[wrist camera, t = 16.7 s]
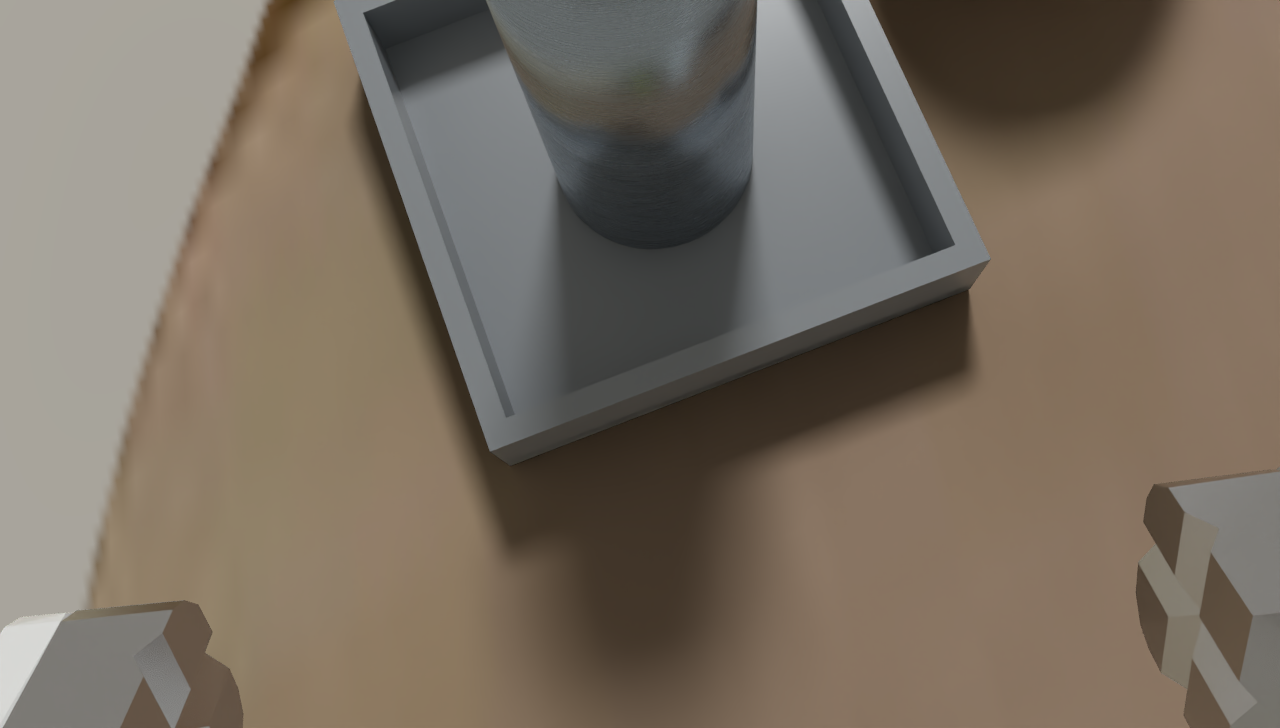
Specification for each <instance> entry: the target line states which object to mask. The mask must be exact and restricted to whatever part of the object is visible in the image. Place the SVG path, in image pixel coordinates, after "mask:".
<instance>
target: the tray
mask: <svg viewBox="0 0 1280 728" xmlns="http://www.w3.org/2000/svg"><path fill="white" fill-rule="evenodd" d="M334 4H335V7H336V10H337V13H338V15H339V18H340V21H341V24H342V27H343V30H344V33H345V36H346V39H347V41H348V44H349V47H350V50H351V53H352V56H353V59H354V62H355V64H356V67H357V70H358V73H359V76H360V79H361V82H362V85H363V88H364V90H365V93H366V96H367V99H368V102H369V105H370V108H371V111H372V113H373V116H374V119H375V122H376V125H377V128H378V131H379V134H380V136H381V139H382V142H383V145H384V148H385V151H386V154H387V157H388V160H389V162H390V165H391V168H392V171H393V174H394V177H395V180H396V183H397V185H398V188H399V191H400V194H401V197H402V200H403V203H404V206H405V208H406V211H407V214H408V217H409V220H410V223H411V226H412V229H413V232H414V234H415V237H416V240H417V243H418V246H419V249H420V252H421V255H422V257H423V260H424V263H425V266H426V269H427V272H428V275H429V278H430V281H431V283H432V286H433V289H434V292H435V295H436V298H437V301H438V304H439V306H440V309H441V312H442V315H443V318H444V321H445V324H446V327H447V329H448V332H449V335H450V338H451V341H452V344H453V347H454V350H455V353H456V355H457V358H458V361H459V364H460V367H461V370H462V373H463V376H464V378H465V381H466V384H467V387H468V390H469V393H470V396H471V399H472V401H473V404H474V407H475V410H476V413H477V416H478V419H479V422H480V425H481V427H482V430H483V433H484V436H485V439H486V442H487V445H488V448H489V450H490V452H491V453H493V454H494V455H495V456H497V457H498V458H500V459H501V460H503V461H504V462H505V463H507V464H508V465H510V466H511V465H514V464H517V463H519V462H522V461H524V460H527V459H530V458H532V457H535V456H537V455H540V454H543V453H545V452H548V451H550V450H553V449H556V448H558V447H561V446H563V445H566V444H569V443H571V442H574V441H576V440H579V439H582V438H584V437H587V436H589V435H592V434H595V433H597V432H600V431H602V430H605V429H608V428H610V427H613V426H615V425H618V424H621V423H623V422H626V421H628V420H631V419H634V418H636V417H639V416H641V415H644V414H647V413H649V412H652V411H654V410H657V409H660V408H662V407H665V406H667V405H670V404H673V403H675V402H678V401H680V400H683V399H686V398H688V397H691V396H693V395H696V394H699V393H701V392H704V391H706V390H709V389H712V388H714V387H717V386H719V385H722V384H724V383H727V382H730V381H732V380H735V379H737V378H740V377H743V376H745V375H748V374H750V373H753V372H756V371H758V370H761V369H763V368H766V367H769V366H771V365H774V364H776V363H779V362H782V361H784V360H787V359H789V358H792V357H795V356H797V355H800V354H802V353H805V352H808V351H810V350H813V349H815V348H818V347H821V346H823V345H826V344H828V343H831V342H834V341H836V340H839V339H841V338H844V337H847V336H849V335H852V334H854V333H857V332H860V331H862V330H865V329H867V328H870V327H873V326H875V325H878V324H880V323H883V322H886V321H888V320H891V319H893V318H896V317H899V316H901V315H904V314H906V313H909V312H912V311H914V310H917V309H919V308H922V307H925V306H927V305H930V304H932V303H935V302H938V301H940V300H943V299H945V298H948V297H951V296H953V295H956V294H958V293H961V292H964V291H966V290H969V289H970V288H971V286H972V285H973V283H974V282H975V281H976V279H977V278H978V276H979V275H980V274H981V272H982V271H983V269H984V268H985V267H986V265H987V264H988V262H989V261H990V260H991V258H990V256H989V254H988V252H987V250H986V248H985V245H984V243H983V241H982V239H981V237H980V235H979V233H978V231H977V228H976V226H975V224H974V222H973V220H972V218H971V216H970V214H969V211H968V209H967V207H966V205H965V203H964V201H963V199H962V197H961V195H960V192H959V190H958V188H957V186H956V184H955V182H954V180H953V178H952V175H951V173H950V171H949V169H948V167H947V165H946V163H945V161H944V158H943V156H942V154H941V152H940V150H939V148H938V146H937V144H936V141H935V139H934V137H933V135H932V133H931V131H930V129H929V127H928V125H927V122H926V120H925V118H924V116H923V114H922V112H921V110H920V108H919V105H918V103H917V101H916V99H915V97H914V95H913V93H912V91H911V88H910V86H909V84H908V82H907V80H906V78H905V76H904V74H903V72H902V69H901V67H900V65H899V63H898V61H897V59H896V57H895V55H894V52H893V50H892V48H891V46H890V44H889V42H888V40H887V38H886V35H885V33H884V31H883V29H882V27H881V25H880V23H879V21H878V18H877V16H876V14H875V12H874V10H873V8H872V6H871V4H870V2H869V0H757V30H756V64H755V98H754V132H753V159H752V169H751V173H750V177H749V181H748V184H747V186H746V189H745V192H744V193H743V195H742V197H741V199H740V201H739V202H738V204H737V205H736V207H735V208H734V209H733V211H732V212H731V213H730V214H729V215H728V216H727V217H726V218H725V219H724V221H723V222H721V223H720V224H719V225H718V226H716V227H715V228H714V229H713V230H711V231H710V232H708V233H706V234H705V235H703V236H702V237H700V238H697V239H695V240H693V241H691V242H688V243H685V244H682V245H679V246H675V247H669V248H663V249H642V248H634V247H629V246H625V245H622V244H619V243H616V242H613V241H611V240H609V239H607V238H605V237H603V236H601V235H599V234H598V233H596V232H595V231H594V230H592V229H591V228H590V227H588V226H587V225H586V224H585V223H584V222H583V221H582V220H581V219H580V218H579V217H578V216H577V214H576V213H575V212H574V211H573V209H572V208H571V206H570V204H569V203H568V201H567V199H566V197H565V195H564V193H563V191H562V188H561V186H560V183H559V181H558V178H557V176H556V173H555V171H554V168H553V166H552V163H551V161H550V158H549V156H548V153H547V151H546V148H545V146H544V143H543V141H542V138H541V136H540V134H539V131H538V129H537V126H536V124H535V121H534V119H533V116H532V114H531V111H530V109H529V106H528V104H527V101H526V99H525V96H524V94H523V91H522V89H521V86H520V84H519V81H518V79H517V76H516V74H515V71H514V69H513V67H512V64H511V62H510V59H509V57H508V54H507V52H506V49H505V47H504V44H503V42H502V39H501V37H500V34H499V32H498V29H497V27H496V24H495V22H494V19H493V17H492V14H491V12H490V9H489V7H488V4H487V2H486V0H335V1H334Z"/></svg>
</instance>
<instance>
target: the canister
mask: <svg viewBox="0 0 1280 728" xmlns="http://www.w3.org/2000/svg"><path fill="white" fill-rule="evenodd" d="M486 2H487V4H488V7H489V9H490V12H491V14H492V17H493V19H494V22H495V24H496V27H497V29H498V32H499V34H500V37H501V39H502V42H503V44H504V47H505V49H506V52H507V54H508V57H509V59H510V62H511V64H512V67H513V69H514V71H515V74H516V76H517V79H518V81H519V84H520V86H521V89H522V91H523V94H524V96H525V99H526V101H527V104H528V106H529V109H530V111H531V114H532V116H533V119H534V121H535V124H536V126H537V129H538V131H539V134H540V136H541V138H542V141H543V143H544V146H545V148H546V151H547V153H548V156H549V158H550V161H551V163H552V166H553V168H554V171H555V173H556V176H557V178H558V181H559V183H560V186H561V188H562V191H563V193H564V195H565V197H566V199H567V201H568V203H569V204H570V206H571V208H572V209H573V211H574V212H575V213H576V214H577V216H578V217H579V218H580V219H581V220H582V221H583V222H584V223H585V224H586V225H587V226H588V227H590V228H591V229H592V230H594V231H595V232H596V233H598V234H599V235H601V236H603V237H605V238H607V239H609V240H611V241H613V242H616V243H619V244H622V245H625V246H629V247H634V248H642V249H663V248H669V247H675V246H679V245H682V244H685V243H688V242H691V241H693V240H695V239H697V238H700V237H702V236H703V235H705V234H706V233H708V232H710V231H711V230H713V229H714V228H715V227H716V226H718V225H719V224H720V223H721V222H723V221H724V219H725V218H726V217H727V216H728V215H729V214H730V213H731V212H732V211H733V209H734V208H735V207H736V205H737V204H738V202H739V201H740V199H741V197H742V195H743V193H744V192H745V189H746V186H747V184H748V181H749V177H750V173H751V169H752V159H753V132H754V98H755V64H756V30H757V0H486Z"/></svg>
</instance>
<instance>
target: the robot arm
mask: <svg viewBox="0 0 1280 728" xmlns="http://www.w3.org/2000/svg"><path fill="white" fill-rule="evenodd" d="M1143 523H1144V524H1145V526H1146V528H1147V529H1148V531H1149V533H1150V534H1151V536H1152V538H1153V540H1154V541H1155V543H1156V544H1155V545H1154V546H1153V547H1152V548H1151V549H1150V551H1149V552H1148V553H1147V554H1146V555H1145V556H1144V557H1143V558H1142V559H1141V560H1140V561H1139V562H1138V571H1137V583H1136V598H1137V605H1138V612H1139V619H1140V625H1141V628H1142V631H1143V634H1144V637H1145V640H1146V642H1147V645H1148V648H1149V650H1150V652H1151V654H1152V656H1153V658H1154V660H1155V662H1156V664H1157V666H1158V668H1159V670H1160V672H1161V673H1162V674H1164V675H1165V676H1167V677H1169V678H1170V679H1172V680H1173V681H1175V682H1177V683H1178V684H1180V685H1181V686H1183V687H1185V688H1186V689H1187V695H1186V702H1185V708H1184V717H1185V719H1186V721H1187V723H1188V725H1189V727H1190V728H1280V467H1279V468H1277V469H1276V470H1263V471H1255V472H1247V473H1239V474H1231V475H1223V476H1215V477H1207V478H1200V479H1192V480H1184V481H1176V482H1168V483H1160V484H1154V485H1153V487H1152V489H1151V491H1150V493H1149V495H1148V496H1147V499H1146V506H1145V513H1144V520H1143ZM211 635H212V630H211V628H210V626H209V624H208V622H207V620H206V618H205V616H204V614H203V612H202V611H201V609H200V607H199V605H198V604H195V603H192V602H188V601H185V600H183V601H172V602H162V603H151V604H141V605H130V606H120V607H110V608H99V609H89V610H78V611H75V612H74V613H59V614H49V615H38V616H27V617H21V618H19V619H17V620H16V621H14V622H12V623H11V624H9V625H7V626H6V627H4V629H3V631H2V632H1V634H0V728H243V710H242V705H241V700H240V695H239V690H238V687H237V685H236V682H235V680H234V678H233V675H232V673H231V671H230V669H229V668H228V667H226V666H225V665H223V664H222V663H220V662H219V661H217V660H215V659H214V658H212V657H211V656H209V655H208V654H206V653H205V651H206V648H207V645H208V643H209V640H210V638H211Z"/></svg>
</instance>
